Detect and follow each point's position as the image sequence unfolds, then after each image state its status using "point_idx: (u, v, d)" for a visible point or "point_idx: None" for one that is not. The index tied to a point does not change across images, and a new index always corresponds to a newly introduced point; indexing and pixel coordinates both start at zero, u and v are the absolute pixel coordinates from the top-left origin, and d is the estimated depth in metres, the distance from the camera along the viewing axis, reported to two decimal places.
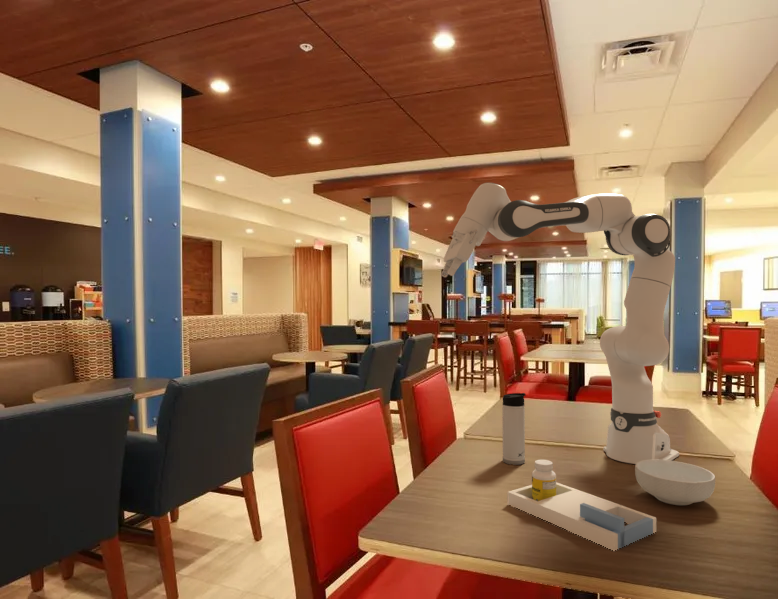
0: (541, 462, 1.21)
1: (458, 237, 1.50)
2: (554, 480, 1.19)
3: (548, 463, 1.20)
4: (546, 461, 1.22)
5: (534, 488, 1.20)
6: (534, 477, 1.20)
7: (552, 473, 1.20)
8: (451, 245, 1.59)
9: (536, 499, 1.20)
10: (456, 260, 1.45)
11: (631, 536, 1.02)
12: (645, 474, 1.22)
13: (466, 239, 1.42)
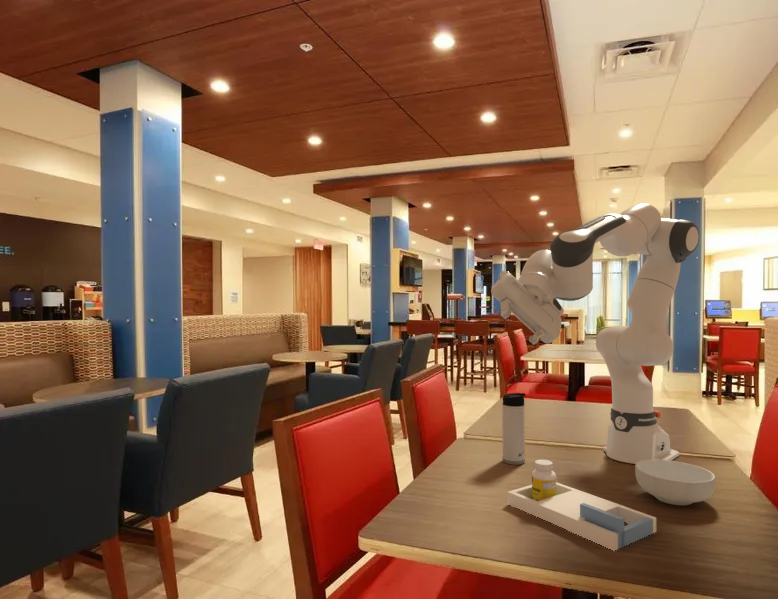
0: (541, 462, 1.21)
1: None
2: (554, 480, 1.19)
3: (548, 463, 1.20)
4: (546, 461, 1.22)
5: (534, 488, 1.20)
6: (534, 477, 1.20)
7: (552, 473, 1.20)
8: None
9: (536, 499, 1.20)
10: (502, 301, 1.27)
11: (631, 536, 1.02)
12: (645, 474, 1.22)
13: None
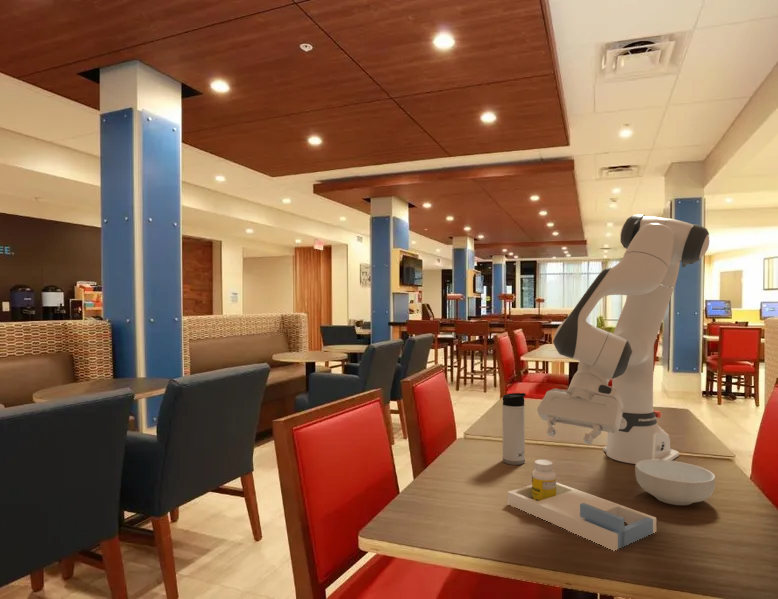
0: (541, 462, 1.21)
1: None
2: (554, 480, 1.19)
3: (548, 463, 1.20)
4: (546, 461, 1.22)
5: (534, 488, 1.20)
6: (534, 477, 1.20)
7: (552, 473, 1.20)
8: None
9: (536, 499, 1.20)
10: None
11: (631, 536, 1.02)
12: (645, 474, 1.22)
13: None
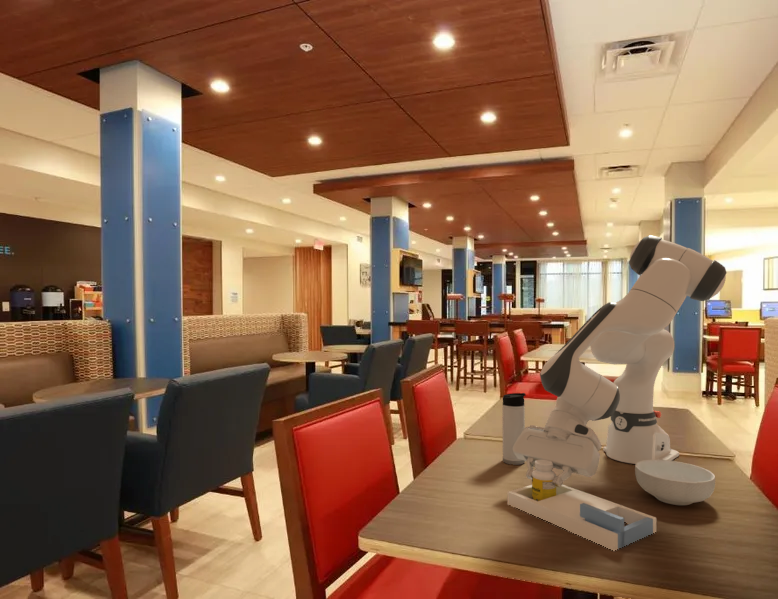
0: (541, 462, 1.21)
1: None
2: None
3: (548, 463, 1.20)
4: (546, 461, 1.22)
5: (534, 488, 1.20)
6: (534, 477, 1.20)
7: (552, 473, 1.20)
8: None
9: (536, 499, 1.20)
10: None
11: (631, 536, 1.02)
12: (645, 474, 1.22)
13: None
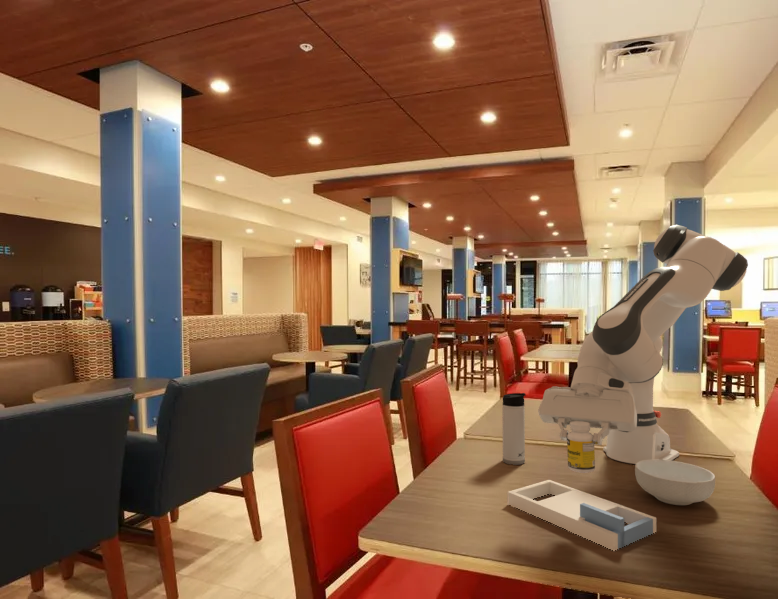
0: (578, 423, 1.11)
1: None
2: None
3: (586, 423, 1.10)
4: (582, 422, 1.12)
5: (572, 452, 1.10)
6: (572, 440, 1.10)
7: (590, 434, 1.10)
8: None
9: (575, 463, 1.09)
10: None
11: (631, 536, 1.02)
12: (645, 474, 1.22)
13: None
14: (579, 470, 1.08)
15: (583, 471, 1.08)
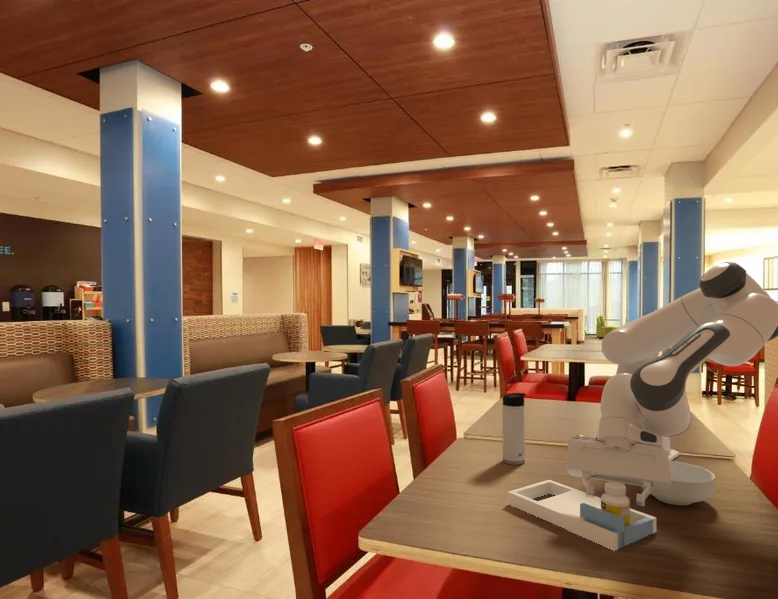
0: (613, 486, 1.05)
1: None
2: (629, 505, 1.05)
3: (621, 486, 1.05)
4: (616, 483, 1.07)
5: None
6: (609, 504, 1.04)
7: (626, 497, 1.05)
8: None
9: None
10: None
11: (631, 536, 1.02)
12: None
13: None
14: None
15: None
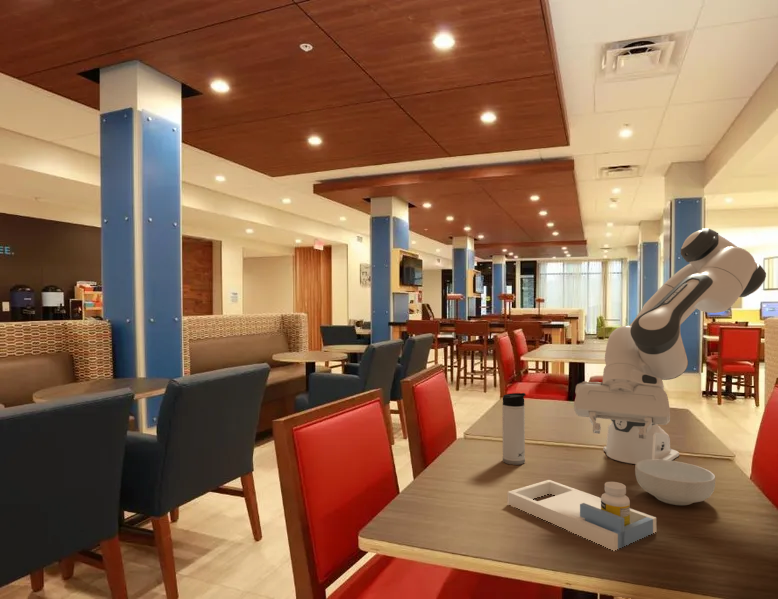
0: (614, 486, 1.05)
1: None
2: (629, 505, 1.05)
3: (621, 486, 1.05)
4: (616, 483, 1.07)
5: None
6: (609, 504, 1.04)
7: (626, 497, 1.05)
8: None
9: None
10: None
11: (631, 536, 1.02)
12: (645, 474, 1.22)
13: None
14: None
15: None
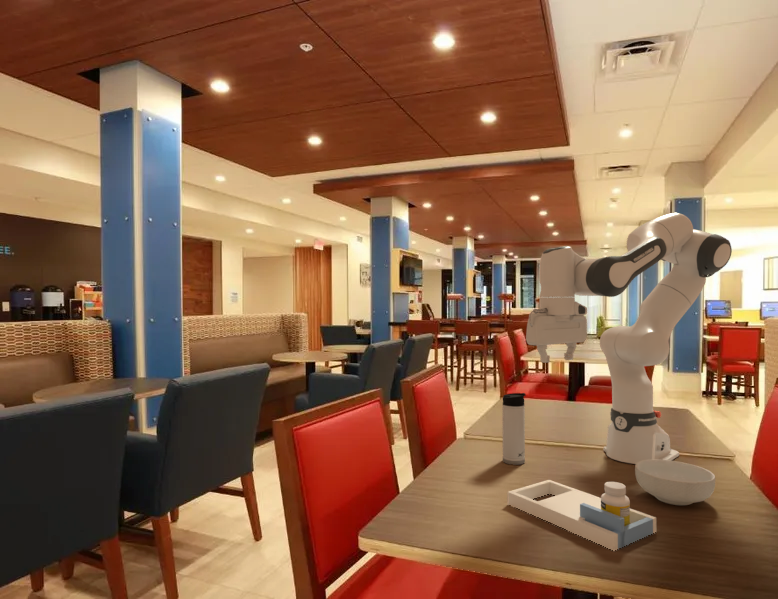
0: (613, 486, 1.05)
1: None
2: (629, 505, 1.05)
3: (621, 486, 1.05)
4: (616, 483, 1.07)
5: None
6: (609, 504, 1.04)
7: (626, 497, 1.05)
8: None
9: None
10: (538, 346, 1.34)
11: (631, 536, 1.02)
12: (645, 474, 1.22)
13: (528, 324, 1.33)
14: None
15: None
